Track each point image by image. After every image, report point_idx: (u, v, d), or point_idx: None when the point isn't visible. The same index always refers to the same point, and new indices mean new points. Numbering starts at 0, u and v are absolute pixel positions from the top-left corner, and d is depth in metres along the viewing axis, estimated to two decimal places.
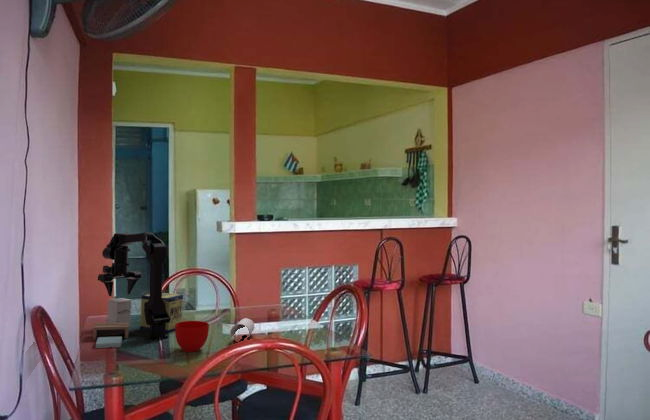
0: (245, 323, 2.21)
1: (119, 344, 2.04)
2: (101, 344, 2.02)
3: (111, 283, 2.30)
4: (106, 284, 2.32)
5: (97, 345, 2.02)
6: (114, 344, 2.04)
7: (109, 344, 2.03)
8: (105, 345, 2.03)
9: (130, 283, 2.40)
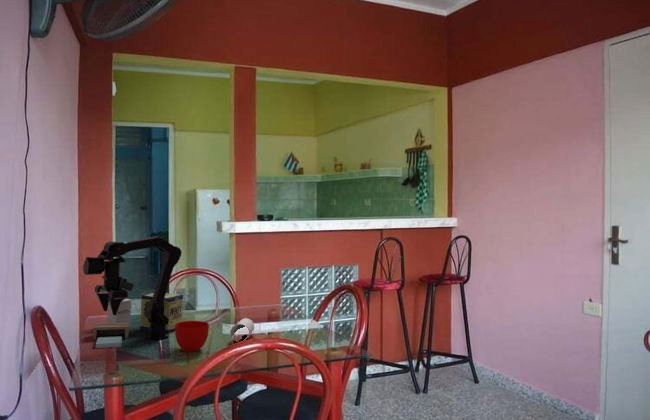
0: (245, 323, 2.21)
1: (119, 344, 2.04)
2: (101, 344, 2.02)
3: (98, 295, 2.09)
4: None
5: (97, 345, 2.02)
6: (114, 344, 2.04)
7: (109, 344, 2.03)
8: (105, 345, 2.03)
9: None
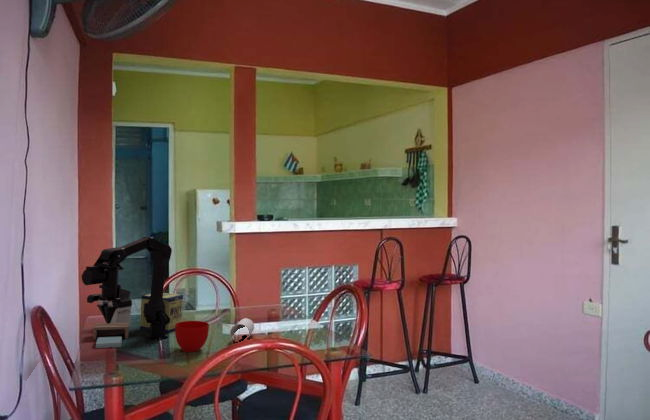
0: (245, 323, 2.21)
1: (119, 344, 2.04)
2: (101, 344, 2.02)
3: (100, 307, 1.97)
4: None
5: (97, 345, 2.02)
6: (114, 344, 2.04)
7: (109, 344, 2.03)
8: (105, 345, 2.03)
9: None
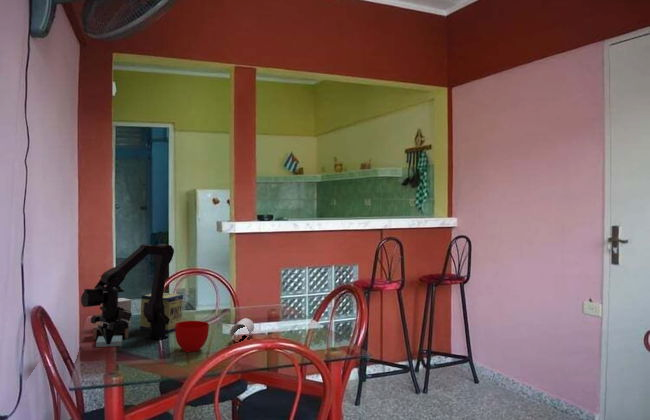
0: (245, 323, 2.21)
1: (119, 343, 2.06)
2: (101, 343, 2.04)
3: (100, 328, 2.02)
4: None
5: (97, 344, 2.03)
6: (114, 343, 2.05)
7: None
8: (105, 344, 2.04)
9: None
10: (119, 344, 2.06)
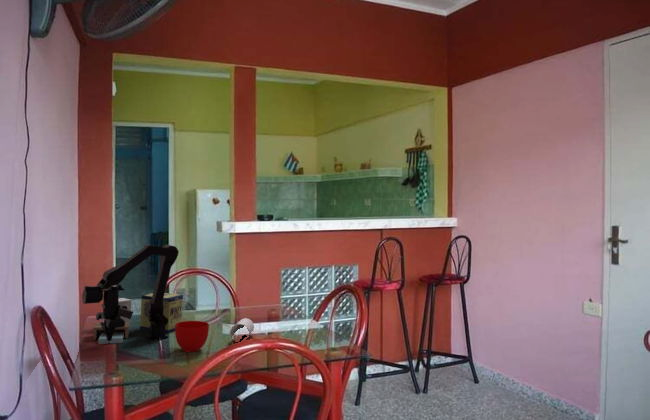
0: (245, 323, 2.21)
1: (121, 340, 2.10)
2: (103, 339, 2.08)
3: (101, 325, 2.08)
4: None
5: (100, 340, 2.08)
6: (116, 340, 2.10)
7: (111, 340, 2.09)
8: (107, 340, 2.09)
9: None
10: (121, 341, 2.10)
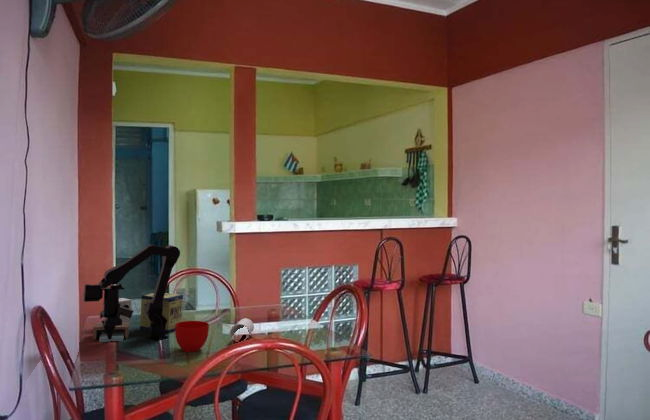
0: (245, 323, 2.21)
1: (122, 338, 2.13)
2: (104, 338, 2.11)
3: (102, 323, 2.11)
4: None
5: (101, 339, 2.11)
6: (117, 338, 2.12)
7: (112, 338, 2.12)
8: (108, 339, 2.11)
9: None
10: (121, 340, 2.13)
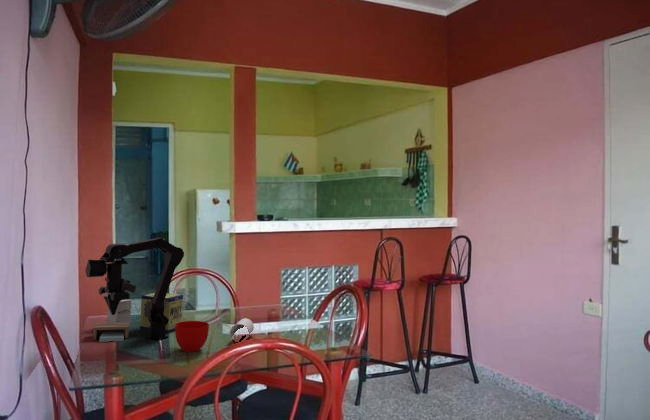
0: (244, 323, 2.21)
1: (122, 338, 2.13)
2: (105, 338, 2.11)
3: (105, 299, 2.07)
4: None
5: (101, 339, 2.11)
6: (117, 338, 2.13)
7: (112, 338, 2.12)
8: (108, 339, 2.12)
9: None
10: (122, 340, 2.13)
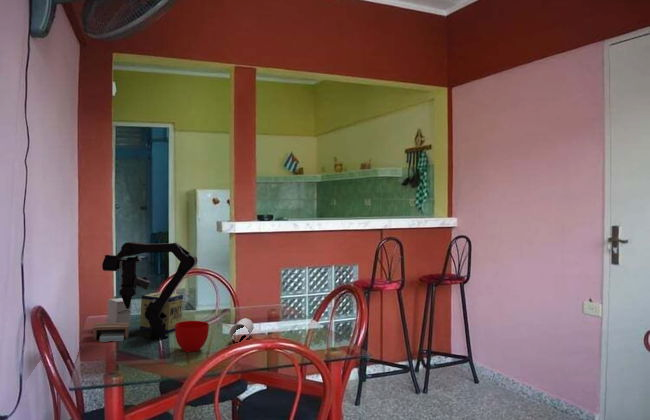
0: (244, 323, 2.21)
1: (122, 338, 2.13)
2: (105, 338, 2.11)
3: None
4: None
5: (101, 339, 2.11)
6: (117, 338, 2.13)
7: (112, 338, 2.12)
8: (108, 339, 2.12)
9: None
10: (122, 339, 2.13)
